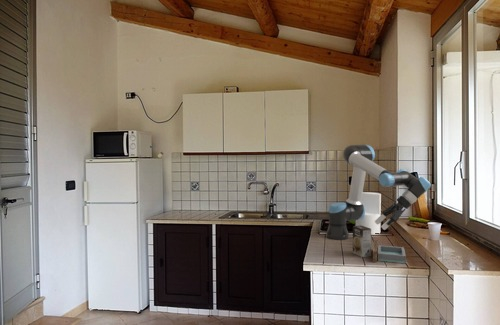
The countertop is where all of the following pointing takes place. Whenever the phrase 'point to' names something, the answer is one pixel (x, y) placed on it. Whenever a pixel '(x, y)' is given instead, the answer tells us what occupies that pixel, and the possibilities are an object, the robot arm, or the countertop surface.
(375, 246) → the board
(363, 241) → the coffee box
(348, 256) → the countertop surface
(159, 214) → the countertop surface
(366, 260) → the countertop surface
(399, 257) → the tray
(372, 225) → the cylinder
